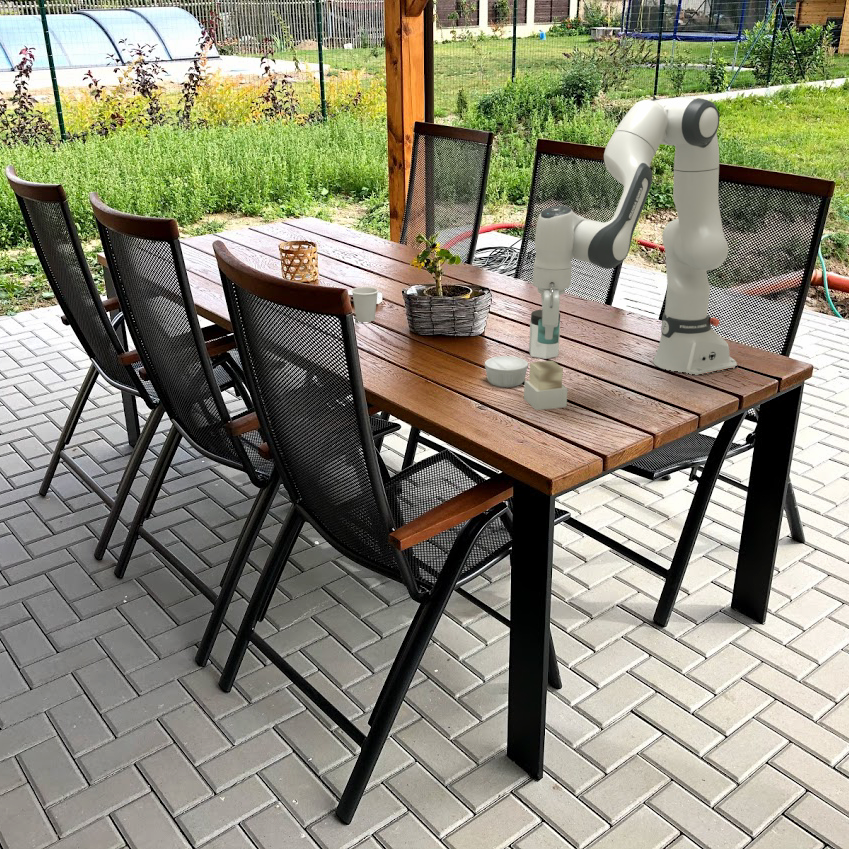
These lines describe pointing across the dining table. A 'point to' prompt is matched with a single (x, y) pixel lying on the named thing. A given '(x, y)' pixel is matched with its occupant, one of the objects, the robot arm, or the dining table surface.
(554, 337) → the teal cylinder
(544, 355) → the jar
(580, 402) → the dining table surface
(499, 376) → the ramekin
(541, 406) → the grey base block
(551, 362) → the birch top block
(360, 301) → the dixie cup
